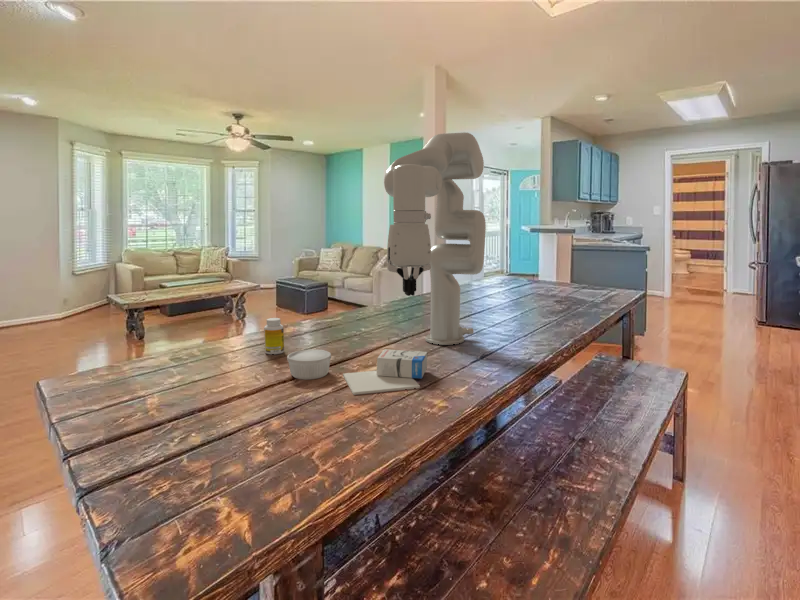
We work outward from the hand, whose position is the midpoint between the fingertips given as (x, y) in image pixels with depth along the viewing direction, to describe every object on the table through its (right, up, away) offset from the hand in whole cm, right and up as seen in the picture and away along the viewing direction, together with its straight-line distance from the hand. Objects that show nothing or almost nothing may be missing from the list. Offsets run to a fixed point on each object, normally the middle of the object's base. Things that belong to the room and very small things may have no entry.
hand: (409, 294), depth 118 cm
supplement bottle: (-40, -17, +27) cm, 51 cm away
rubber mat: (-7, -21, +1) cm, 23 cm away
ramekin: (-26, -21, +7) cm, 34 cm away
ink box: (+4, -18, +5) cm, 19 cm away
